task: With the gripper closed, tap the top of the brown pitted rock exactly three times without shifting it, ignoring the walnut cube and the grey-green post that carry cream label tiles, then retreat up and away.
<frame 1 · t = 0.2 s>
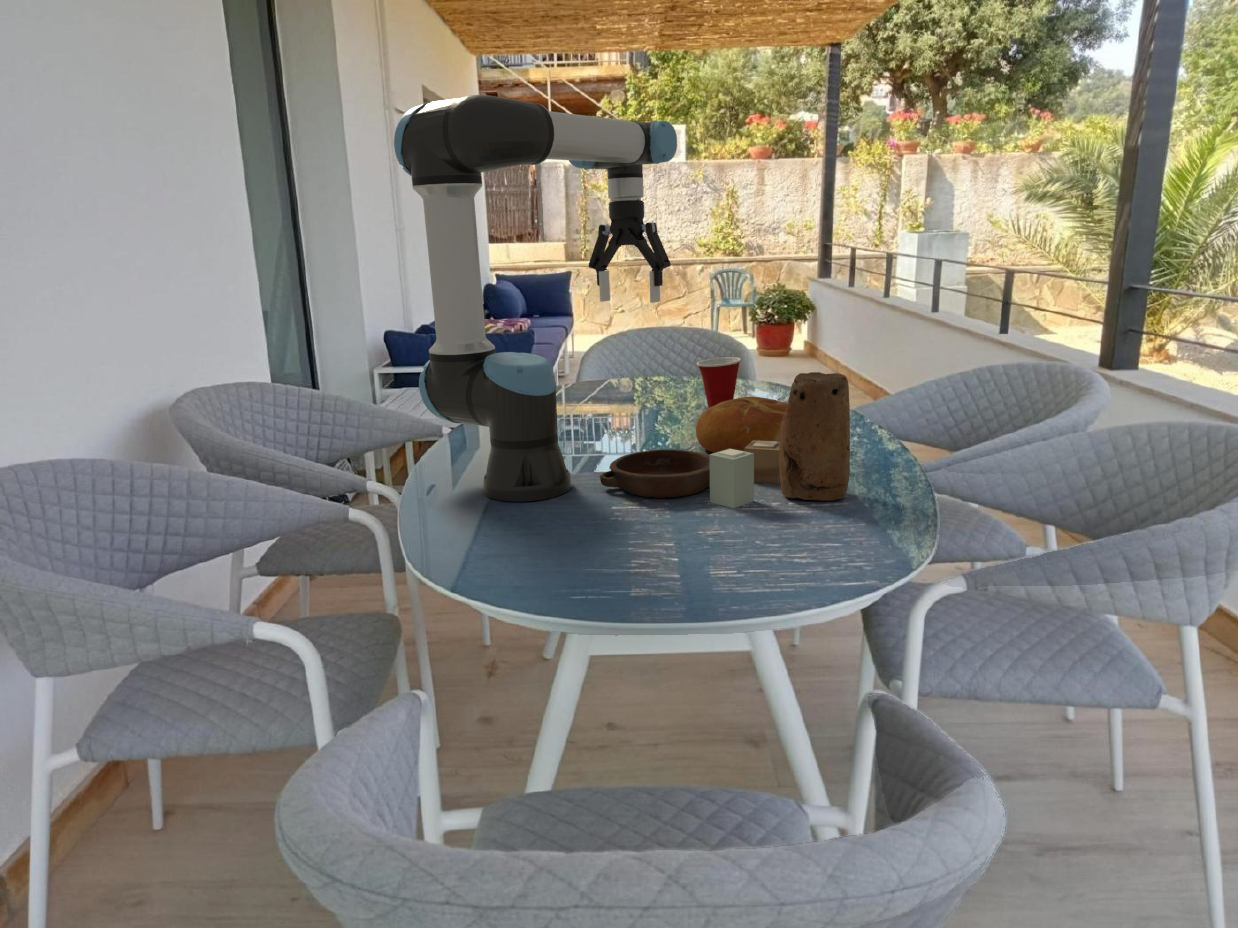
hand: (629, 301, 191), 28 cm above the table, fingers open, 13 cm apart
plastic cup: (719, 408, 215), on the table
grey-green post: (731, 501, 142), on the table
brown pitted rock: (813, 497, 143), on the table
bread: (754, 449, 175), on the table
dish: (664, 490, 151), on the table
walnut cube: (765, 478, 154), on the table
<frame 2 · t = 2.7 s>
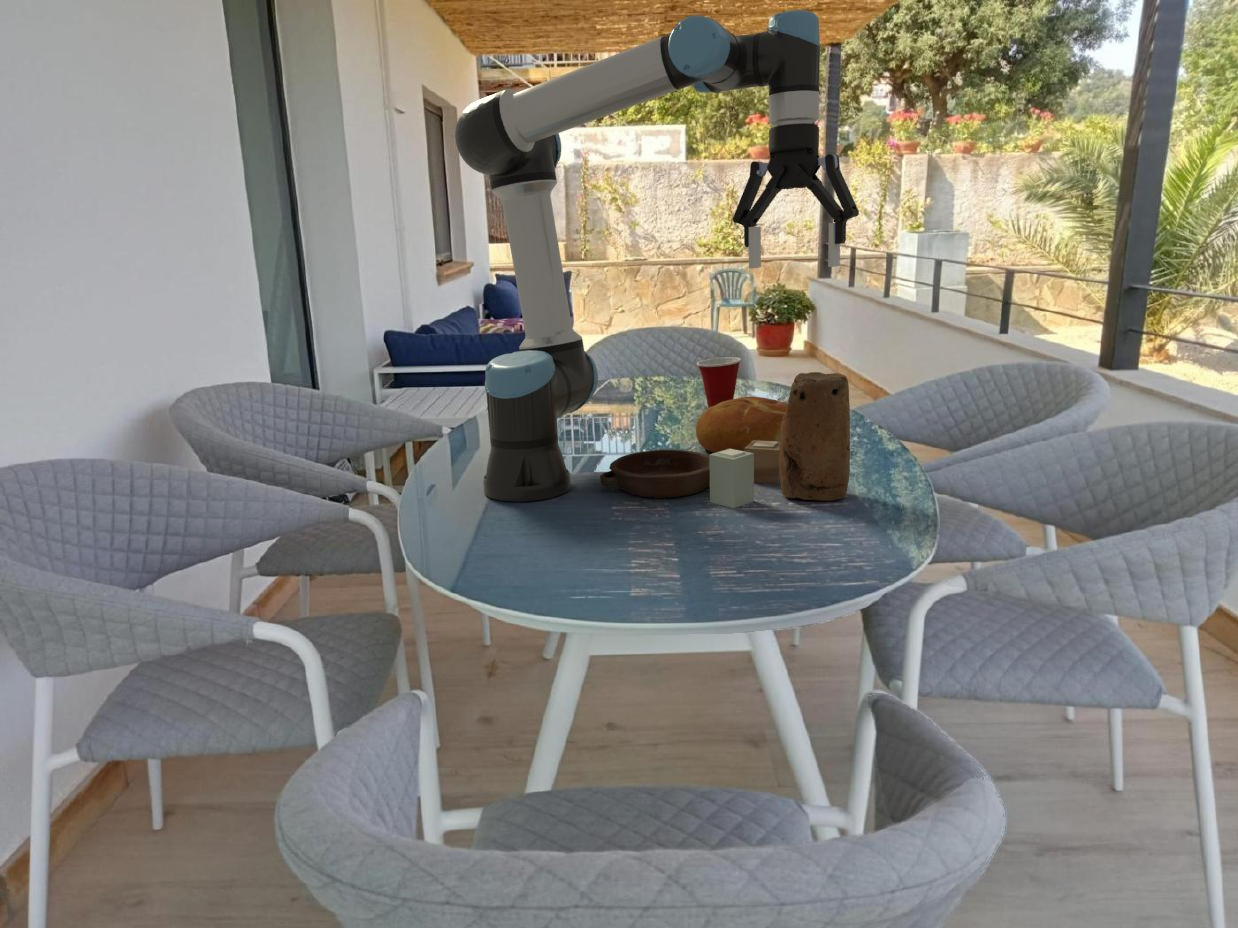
hand: (793, 267, 139), 36 cm above the table, fingers open, 13 cm apart
nothing on the table moved.
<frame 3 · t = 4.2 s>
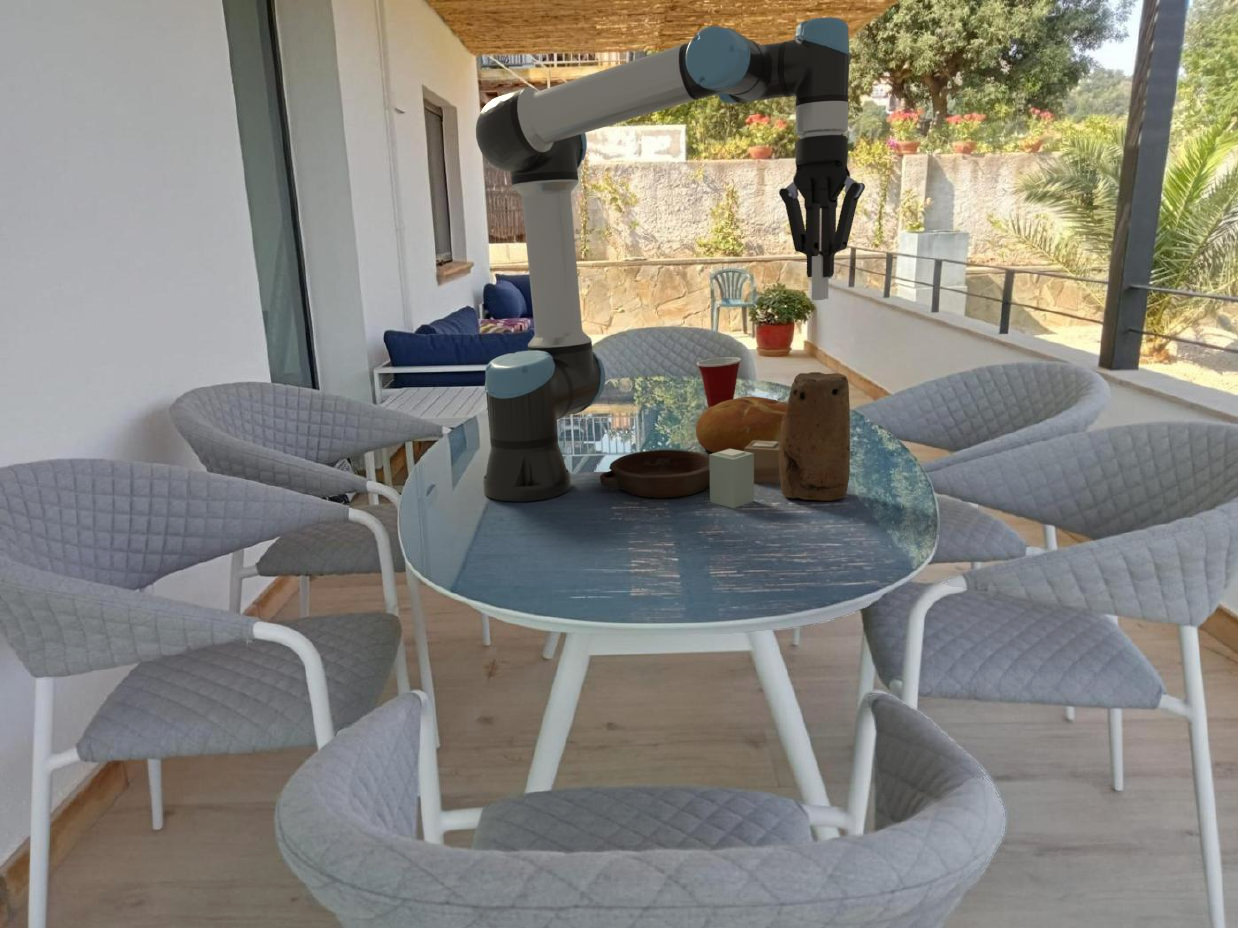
hand: (820, 299, 134), 32 cm above the table, fingers closed
nothing on the table moved.
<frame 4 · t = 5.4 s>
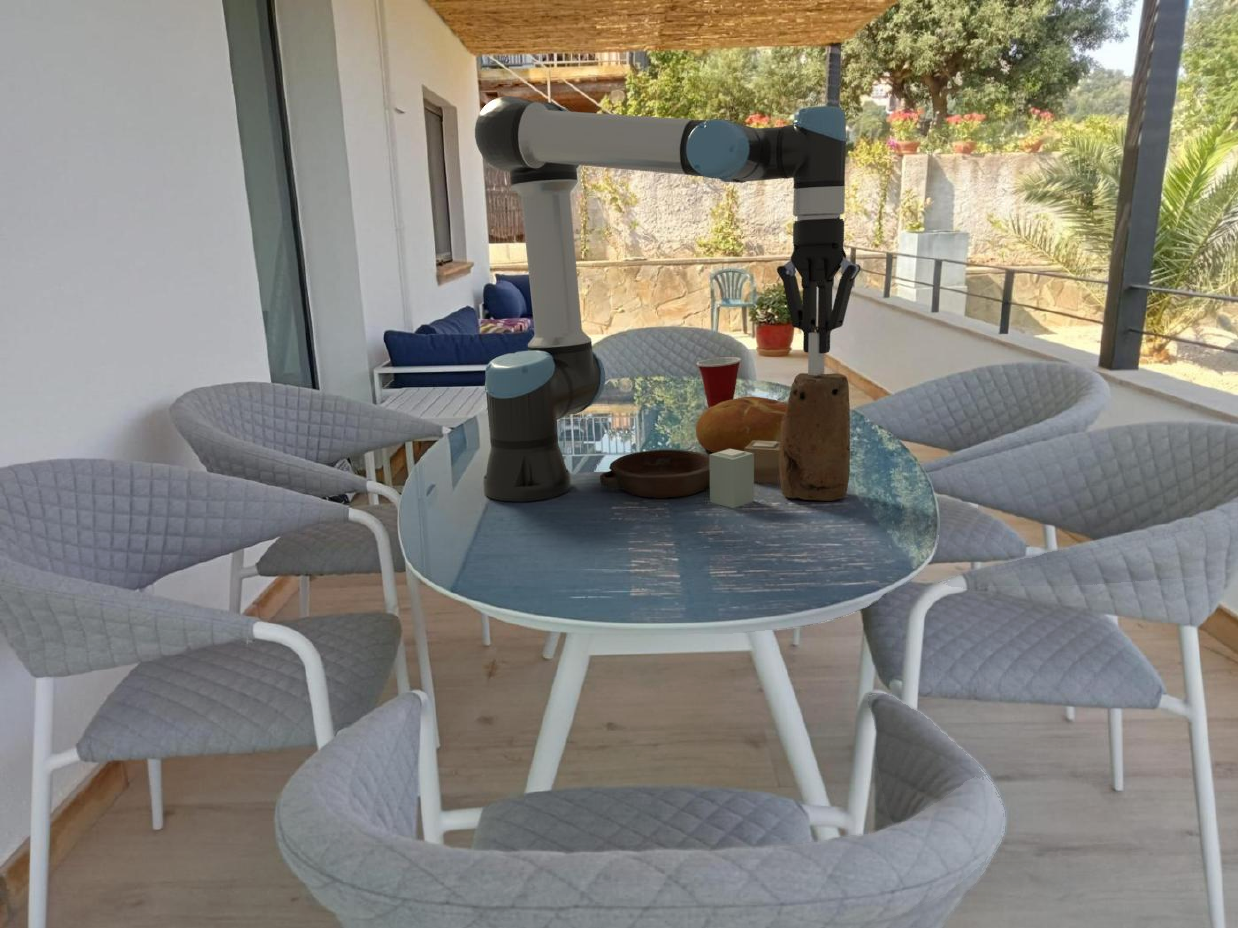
hand: (816, 373, 137), 20 cm above the table, fingers closed
brown pitted rock: (813, 497, 143), on the table, touching gripper
everything else where it was.
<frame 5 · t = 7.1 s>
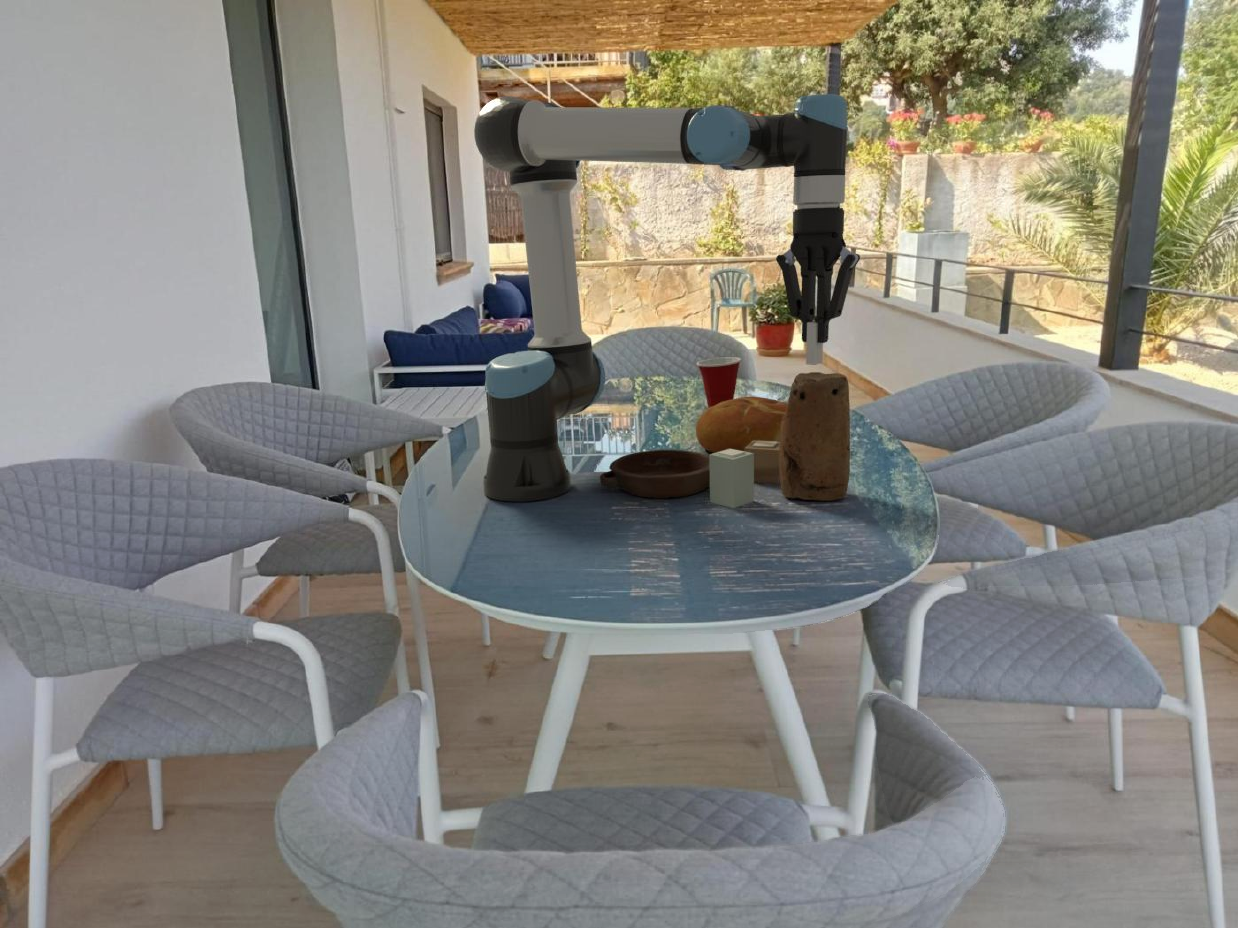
hand: (814, 363, 137), 22 cm above the table, fingers closed
brown pitted rock: (813, 497, 143), on the table
everything else where it was.
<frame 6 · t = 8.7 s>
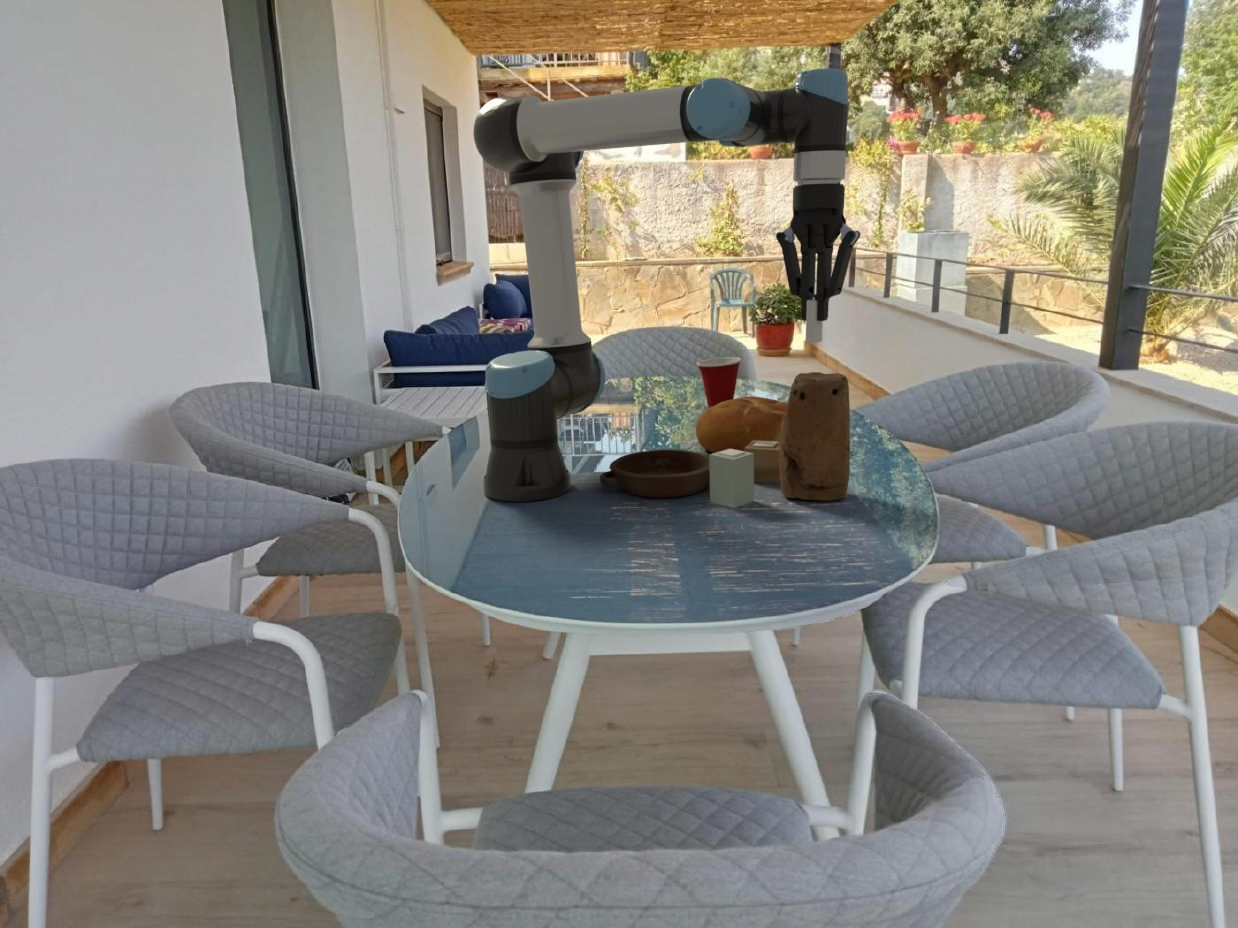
hand: (813, 341, 136), 25 cm above the table, fingers closed
nothing on the table moved.
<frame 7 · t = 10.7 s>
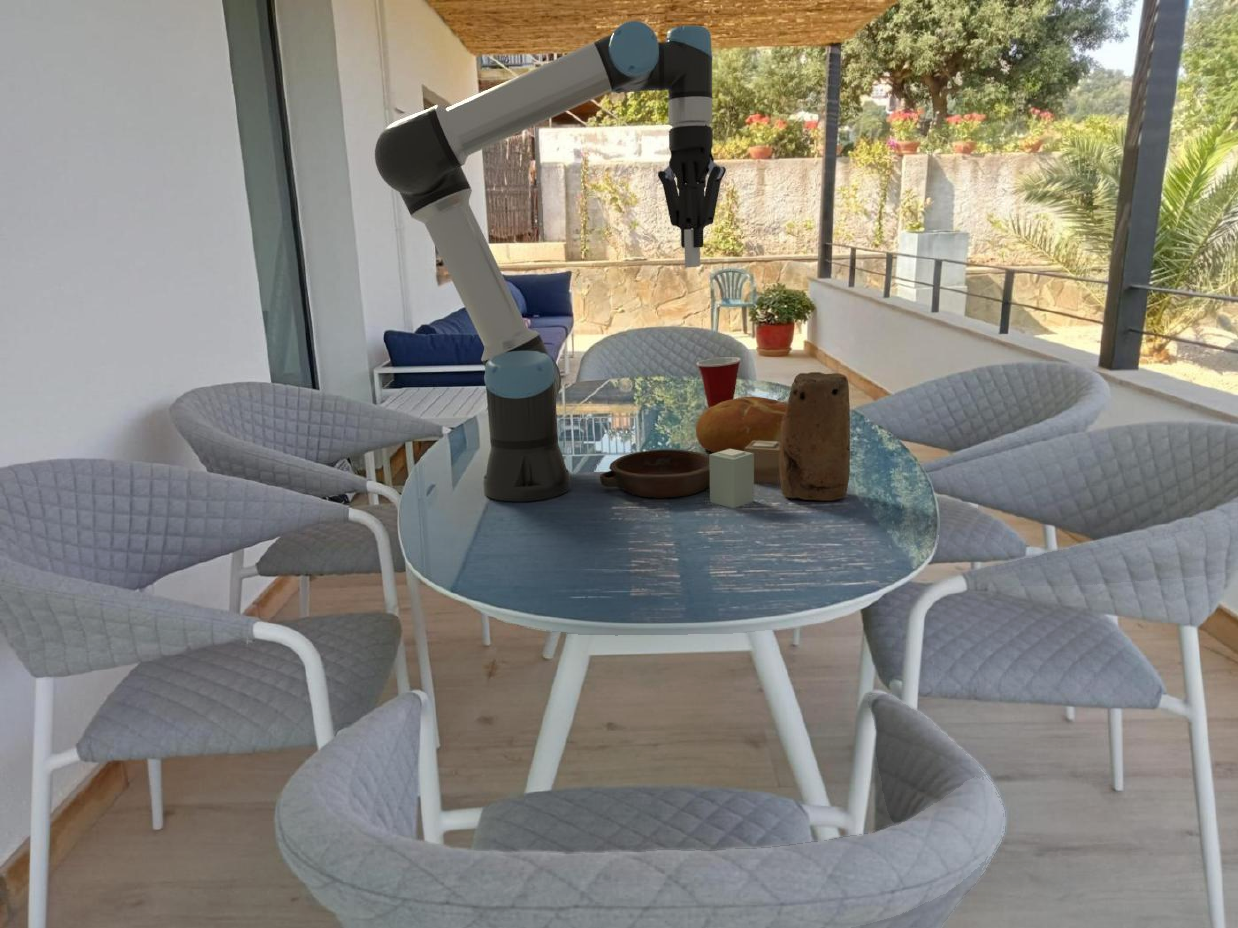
hand: (692, 266, 157), 36 cm above the table, fingers closed
nothing on the table moved.
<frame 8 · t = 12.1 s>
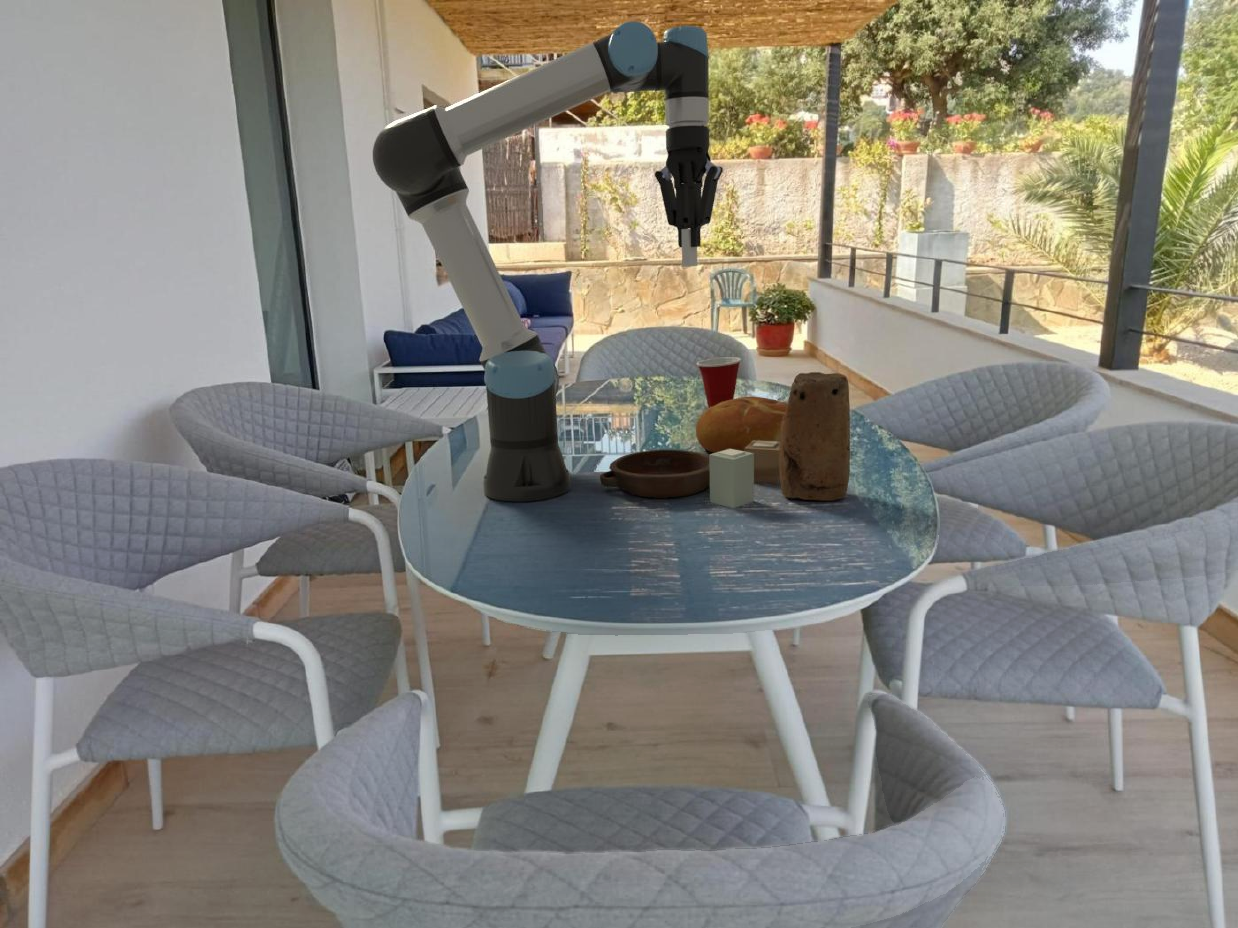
hand: (689, 266, 157), 36 cm above the table, fingers closed
nothing on the table moved.
at the end: brown pitted rock moved 0.2 cm from its start; brown pitted rock tilted 0°; walnut cube moved 0.1 cm from its start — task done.
